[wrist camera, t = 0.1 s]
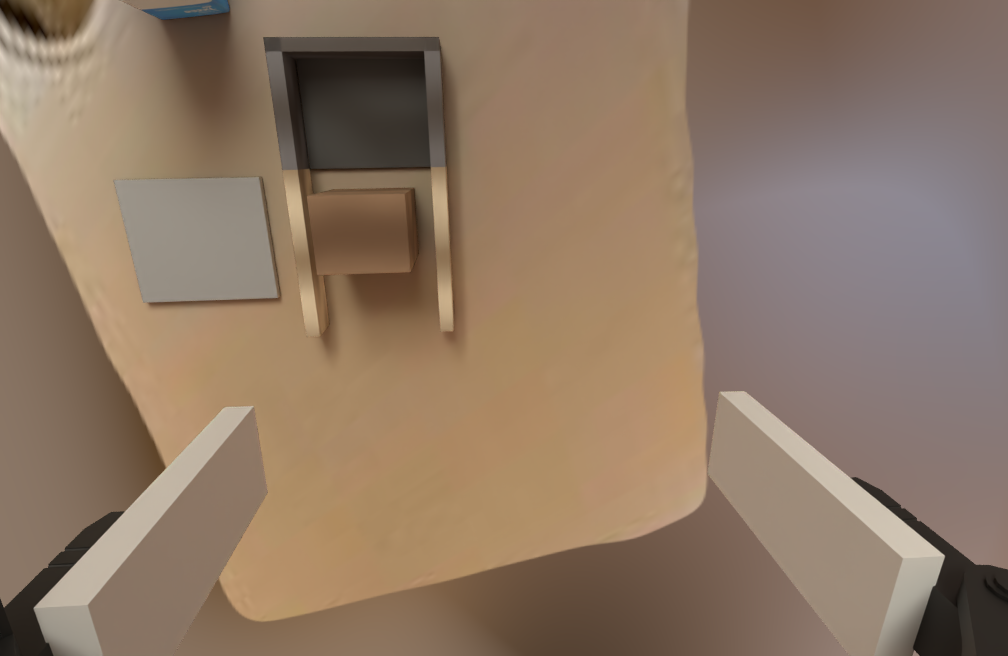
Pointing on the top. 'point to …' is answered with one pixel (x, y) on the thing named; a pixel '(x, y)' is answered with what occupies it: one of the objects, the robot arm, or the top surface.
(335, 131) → the channel
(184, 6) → the ink box
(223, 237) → the slate pad
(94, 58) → the top surface
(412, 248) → the walnut block
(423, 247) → the top surface
